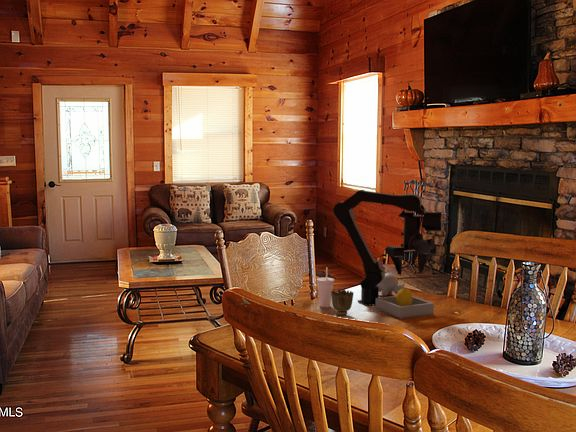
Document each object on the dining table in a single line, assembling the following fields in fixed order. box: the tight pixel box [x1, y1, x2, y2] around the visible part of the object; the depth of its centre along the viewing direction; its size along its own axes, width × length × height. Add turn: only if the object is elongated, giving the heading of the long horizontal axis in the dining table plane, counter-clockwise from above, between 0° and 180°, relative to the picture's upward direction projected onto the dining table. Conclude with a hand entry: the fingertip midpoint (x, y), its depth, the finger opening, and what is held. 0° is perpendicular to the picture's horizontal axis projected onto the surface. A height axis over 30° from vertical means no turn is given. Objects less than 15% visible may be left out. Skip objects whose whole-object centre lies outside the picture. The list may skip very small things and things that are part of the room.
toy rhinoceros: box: [377, 272, 406, 297], centre depth 235 cm, size 7×12×8 cm, turn 49°
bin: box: [375, 295, 435, 320], centre depth 212 cm, size 14×14×4 cm
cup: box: [331, 289, 355, 317], centre depth 206 cm, size 8×7×8 cm
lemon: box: [395, 287, 413, 306], centre depth 211 cm, size 6×6×8 cm
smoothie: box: [316, 267, 335, 308], centre depth 218 cm, size 6×6×14 cm
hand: (410, 273), depth 218 cm, fingers open, 9 cm apart
